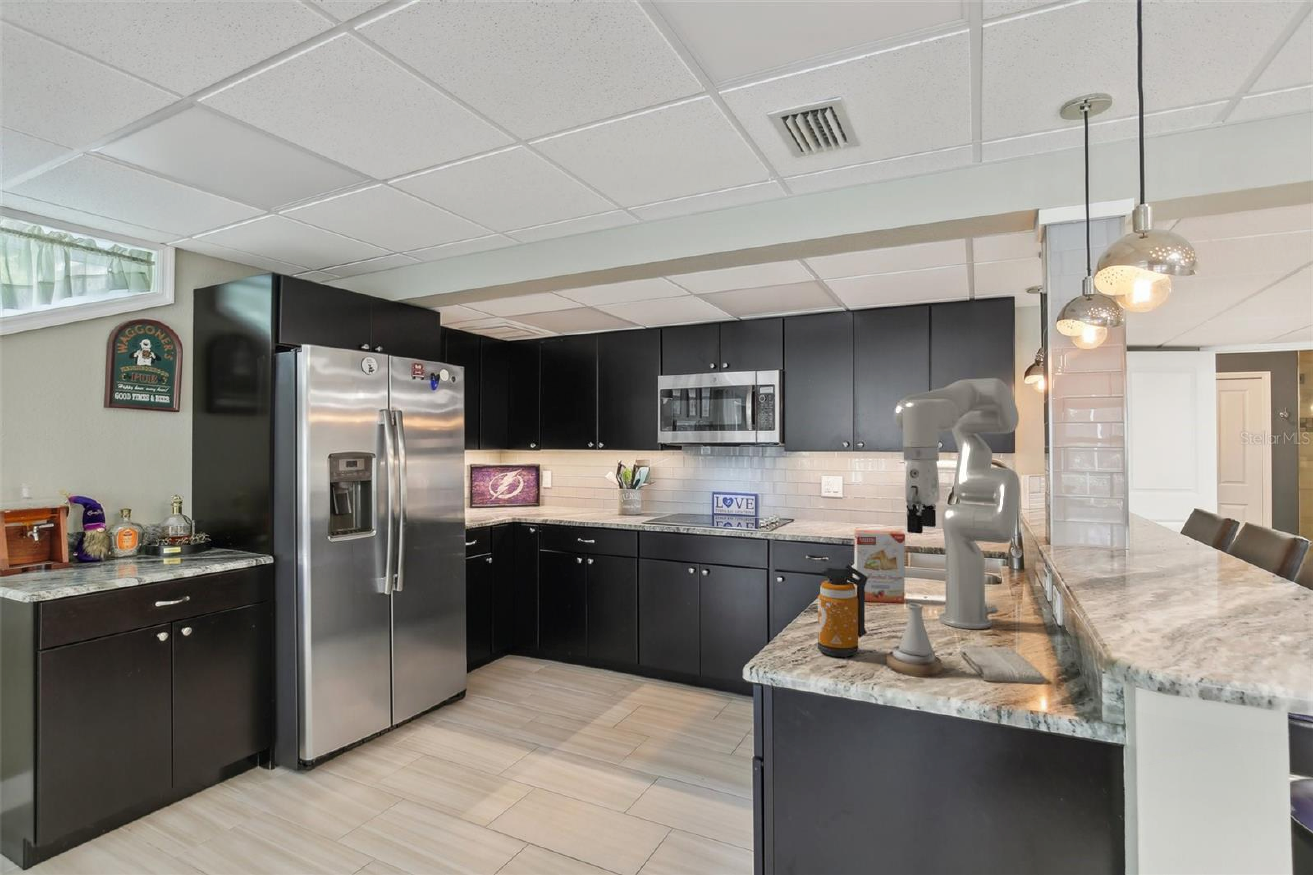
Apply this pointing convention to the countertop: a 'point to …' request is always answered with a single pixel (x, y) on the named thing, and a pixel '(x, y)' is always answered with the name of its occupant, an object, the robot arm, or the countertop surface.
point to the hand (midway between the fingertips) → (921, 529)
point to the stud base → (914, 668)
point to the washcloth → (999, 664)
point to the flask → (915, 634)
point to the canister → (841, 611)
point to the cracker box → (881, 564)
